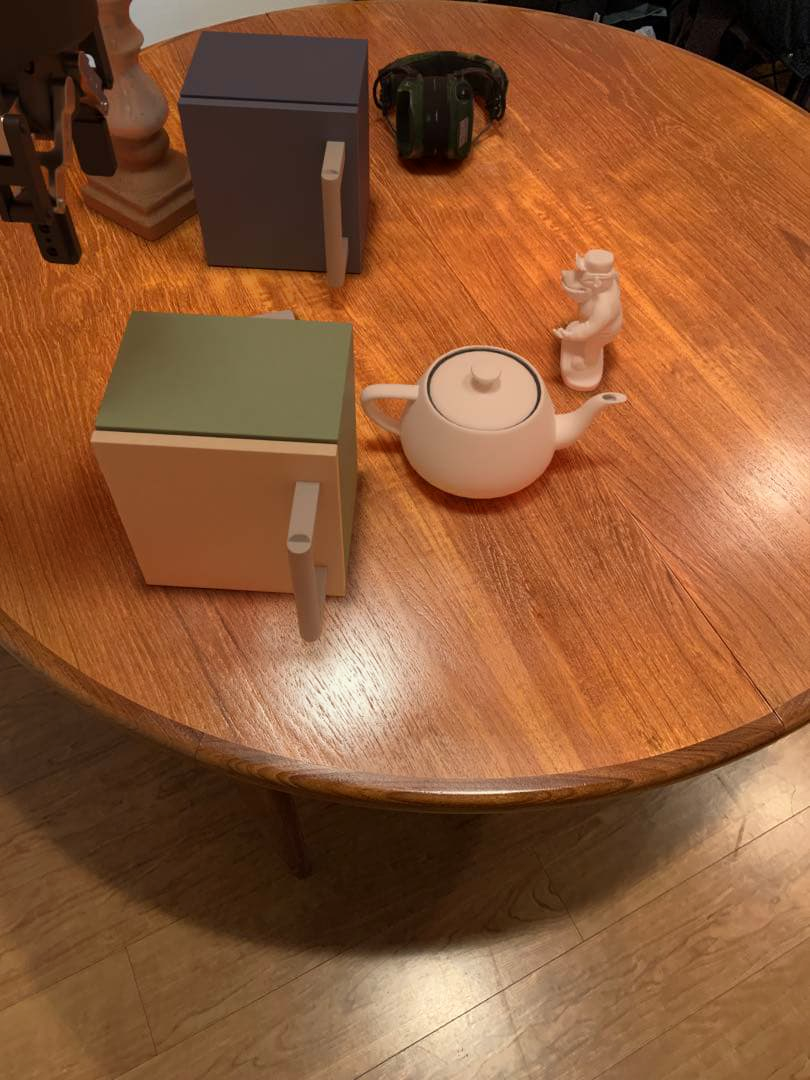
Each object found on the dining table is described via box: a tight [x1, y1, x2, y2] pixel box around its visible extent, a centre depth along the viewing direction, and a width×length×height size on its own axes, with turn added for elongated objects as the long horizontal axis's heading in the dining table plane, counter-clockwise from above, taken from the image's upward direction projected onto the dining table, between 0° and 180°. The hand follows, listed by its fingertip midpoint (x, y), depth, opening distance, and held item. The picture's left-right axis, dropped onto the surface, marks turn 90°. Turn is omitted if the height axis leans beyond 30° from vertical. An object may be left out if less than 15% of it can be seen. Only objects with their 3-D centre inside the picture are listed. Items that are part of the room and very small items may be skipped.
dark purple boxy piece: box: [179, 30, 371, 267], centre depth 93 cm, size 11×16×18 cm
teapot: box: [359, 344, 628, 499], centre depth 79 cm, size 22×14×11 cm, turn 86°
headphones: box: [372, 50, 510, 161], centre depth 108 cm, size 13×13×20 cm
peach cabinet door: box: [89, 429, 347, 643], centre depth 66 cm, size 7×16×18 cm, turn 87°
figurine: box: [552, 248, 624, 392], centre depth 85 cm, size 9×7×12 cm
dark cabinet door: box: [176, 96, 362, 289], centre depth 88 cm, size 7×16×18 cm, turn 87°
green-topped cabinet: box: [93, 310, 359, 584], centre depth 71 cm, size 11×16×18 cm
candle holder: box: [80, 0, 198, 242], centre depth 93 cm, size 11×11×24 cm
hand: (83, 215), depth 57 cm, fingers open, 8 cm apart
